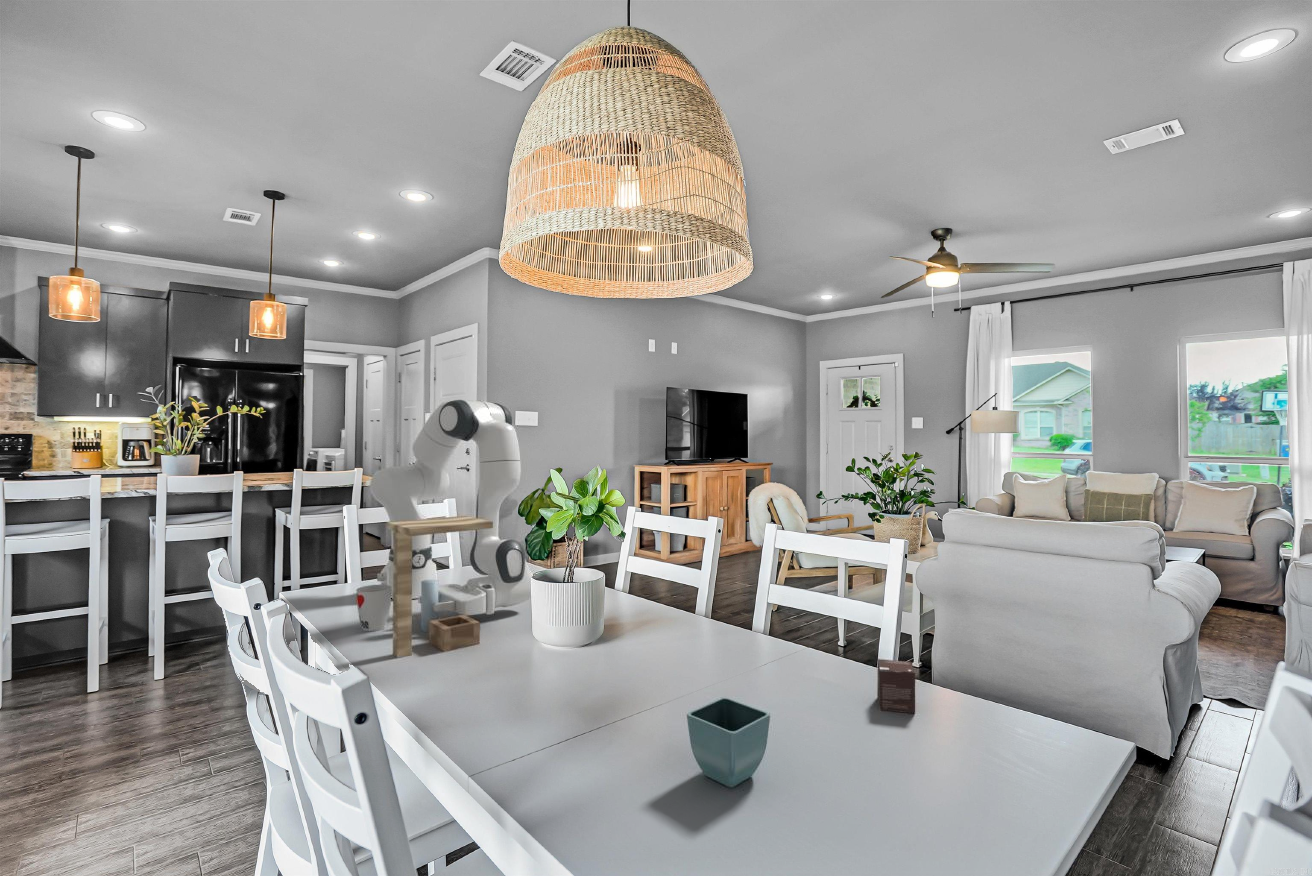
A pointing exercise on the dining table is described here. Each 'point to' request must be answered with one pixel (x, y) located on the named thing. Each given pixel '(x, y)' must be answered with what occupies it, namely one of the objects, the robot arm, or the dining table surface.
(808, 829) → the dining table surface
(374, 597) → the cup
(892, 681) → the box
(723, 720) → the flower pot
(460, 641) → the socket block
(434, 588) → the peg
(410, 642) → the wooden l-shaped post
